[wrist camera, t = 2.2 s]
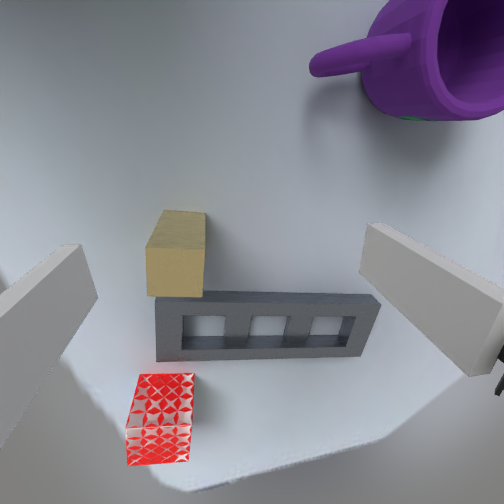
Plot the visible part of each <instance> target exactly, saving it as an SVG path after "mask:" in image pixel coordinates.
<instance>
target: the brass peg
mask: <svg viewBox="0 0 504 504" xmlns="http://www.w3.org/2000/svg"><path fill="white" fill-rule="evenodd" d="M205 214H206V213H197V212H184V211H172V210H164V211H163V213H162V215H161V217H160V219H159V221H158V223H157V225H156V227H155V229H154V231H153V233H152V235H151V237H150V239H149V241H148V243H147V245H146V272H147V296H156V297H202V293H203V277H204V262H205Z"/></svg>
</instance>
